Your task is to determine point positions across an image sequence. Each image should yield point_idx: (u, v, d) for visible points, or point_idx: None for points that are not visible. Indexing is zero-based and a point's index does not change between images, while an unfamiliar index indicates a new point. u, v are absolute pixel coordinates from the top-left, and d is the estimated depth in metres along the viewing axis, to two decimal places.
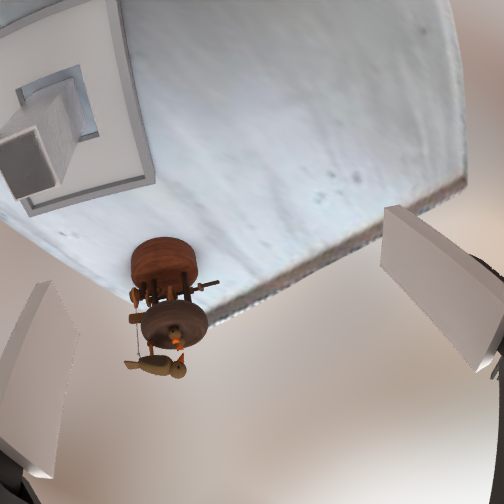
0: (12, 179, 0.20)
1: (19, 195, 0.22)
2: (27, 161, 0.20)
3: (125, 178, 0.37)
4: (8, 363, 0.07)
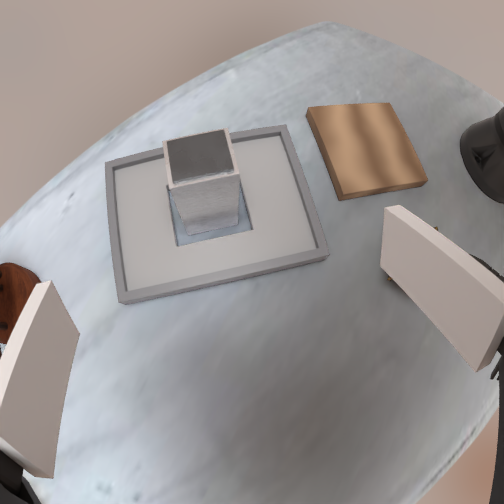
0: (189, 142, 0.27)
1: (170, 145, 0.27)
2: (205, 160, 0.26)
3: (125, 271, 0.35)
4: (8, 363, 0.07)
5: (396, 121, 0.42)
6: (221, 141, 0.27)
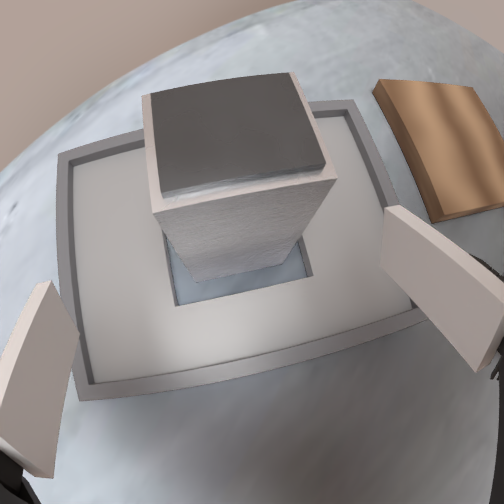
0: (207, 95, 0.10)
1: (159, 103, 0.10)
2: (250, 137, 0.10)
3: (87, 345, 0.19)
4: (8, 363, 0.07)
5: (485, 112, 0.26)
6: (286, 96, 0.11)
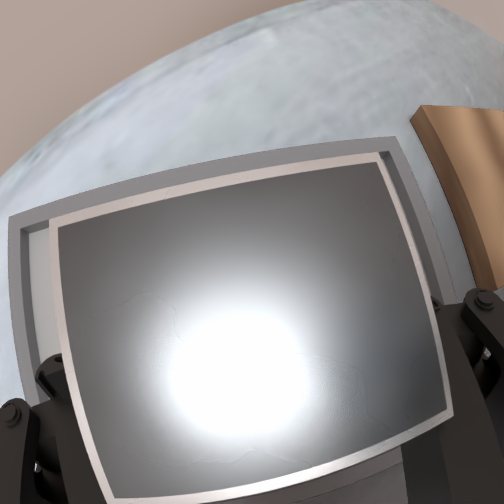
0: (186, 241, 0.04)
1: (77, 260, 0.04)
2: (302, 378, 0.04)
3: None
4: None
5: None
6: (379, 238, 0.05)
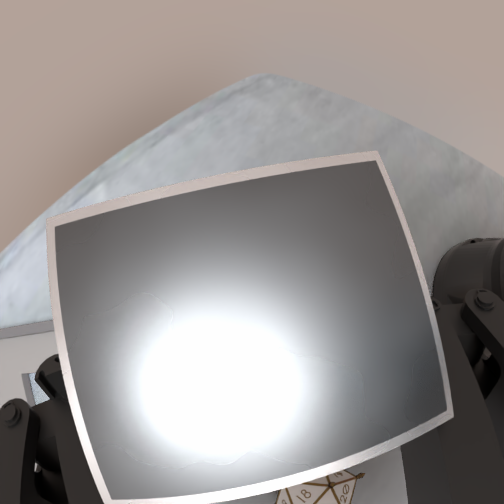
0: (183, 241, 0.04)
1: (73, 259, 0.04)
2: (300, 379, 0.04)
3: None
4: None
5: None
6: (378, 238, 0.05)
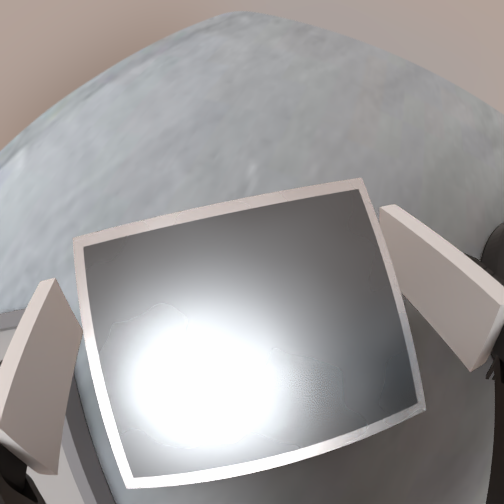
0: (195, 261, 0.05)
1: (102, 275, 0.05)
2: (291, 374, 0.05)
3: None
4: (12, 360, 0.07)
5: None
6: (358, 257, 0.06)
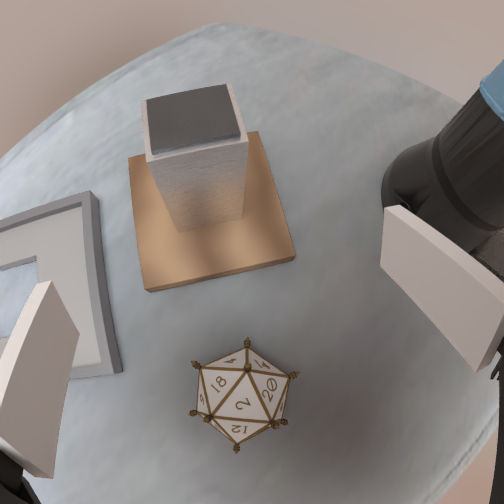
0: (177, 100, 0.18)
1: (151, 105, 0.18)
2: (199, 122, 0.18)
3: None
4: (8, 363, 0.07)
5: (260, 160, 0.32)
6: (222, 98, 0.18)
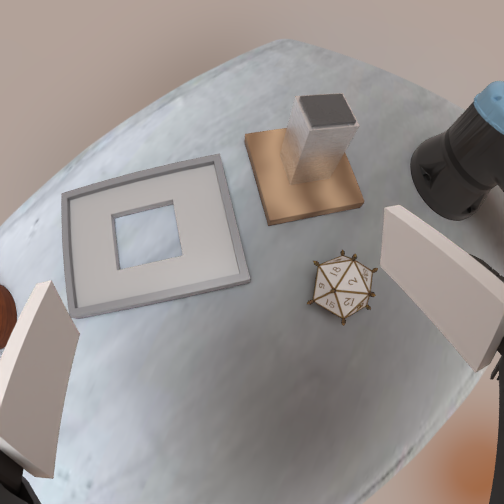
0: (318, 99, 0.32)
1: (304, 99, 0.32)
2: (334, 113, 0.32)
3: (76, 290, 0.39)
4: (8, 363, 0.07)
5: None
6: (342, 101, 0.33)
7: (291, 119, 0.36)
